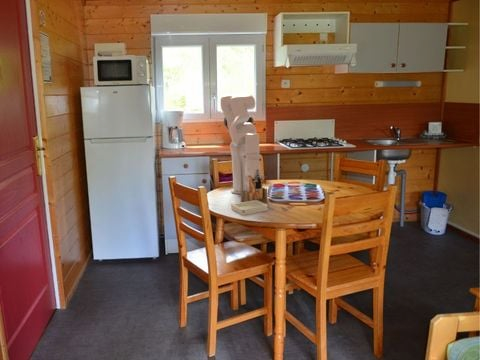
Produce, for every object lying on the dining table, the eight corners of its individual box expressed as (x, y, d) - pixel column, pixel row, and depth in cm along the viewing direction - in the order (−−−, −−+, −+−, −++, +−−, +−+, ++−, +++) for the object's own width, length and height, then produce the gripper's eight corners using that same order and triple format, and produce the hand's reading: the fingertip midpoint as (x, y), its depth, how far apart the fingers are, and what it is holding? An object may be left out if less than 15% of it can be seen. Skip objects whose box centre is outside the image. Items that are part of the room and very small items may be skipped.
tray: (231, 209, 226) (231, 204, 225) (256, 204, 232) (256, 199, 232) (242, 215, 214) (242, 210, 214) (268, 210, 221) (268, 205, 220)
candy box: (258, 199, 241) (257, 172, 238) (263, 201, 238) (262, 174, 235) (245, 202, 236) (244, 175, 233) (250, 204, 233) (249, 176, 230)
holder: (241, 202, 238) (240, 189, 236) (260, 198, 243) (260, 186, 242) (247, 205, 231) (246, 192, 230) (267, 201, 237) (267, 189, 235)
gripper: (239, 155, 237) (240, 185, 241) (254, 158, 222) (255, 191, 225) (251, 153, 241) (252, 183, 244) (266, 157, 225) (268, 189, 229)
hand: (254, 187), depth 235 cm, fingers open, 9 cm apart
